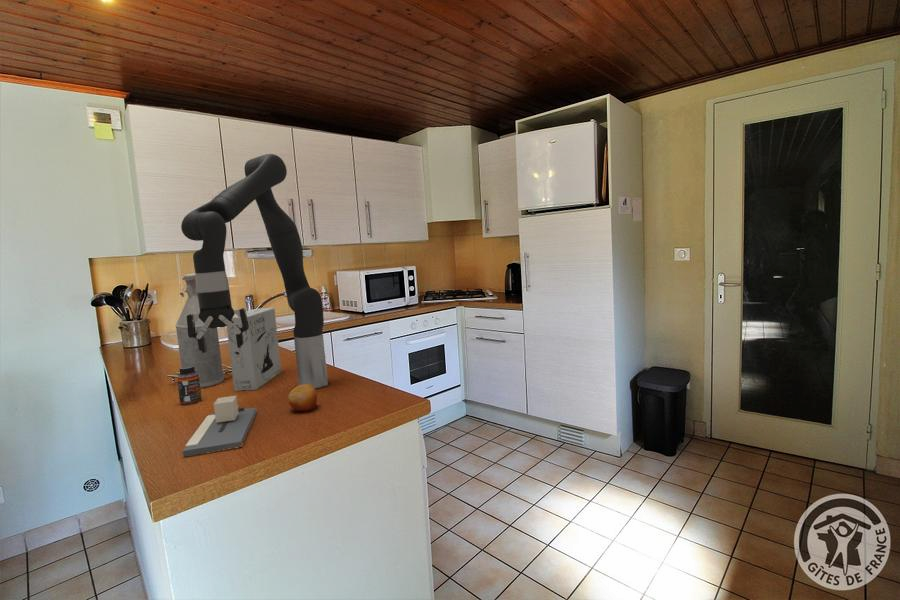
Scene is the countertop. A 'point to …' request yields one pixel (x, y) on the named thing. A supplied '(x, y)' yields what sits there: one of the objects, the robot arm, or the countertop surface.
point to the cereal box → (255, 350)
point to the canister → (189, 351)
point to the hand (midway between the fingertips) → (222, 349)
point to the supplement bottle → (188, 385)
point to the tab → (226, 409)
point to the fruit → (303, 398)
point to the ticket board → (220, 433)
